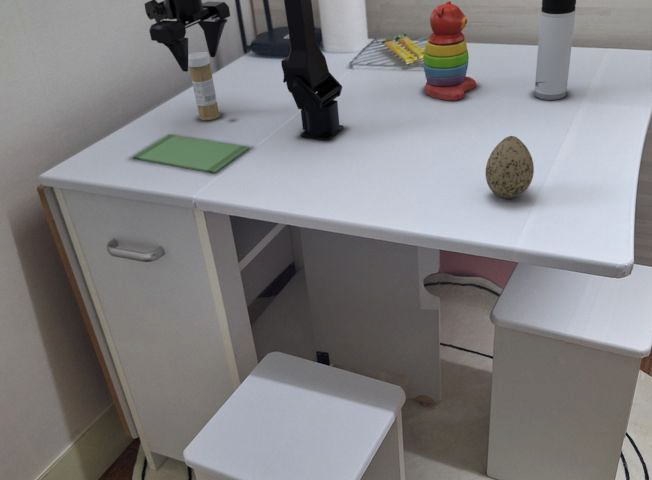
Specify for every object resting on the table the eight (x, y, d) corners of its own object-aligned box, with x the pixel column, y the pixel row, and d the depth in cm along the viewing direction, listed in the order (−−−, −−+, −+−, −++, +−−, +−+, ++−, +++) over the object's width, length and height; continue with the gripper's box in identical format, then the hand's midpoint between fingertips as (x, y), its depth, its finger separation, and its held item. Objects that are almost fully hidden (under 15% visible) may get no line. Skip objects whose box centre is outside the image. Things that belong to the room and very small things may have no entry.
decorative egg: (477, 190, 111) (479, 132, 105) (518, 182, 112) (522, 124, 106) (496, 210, 105) (499, 150, 100) (539, 202, 106) (545, 141, 100)
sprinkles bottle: (217, 111, 151) (205, 49, 143) (222, 118, 147) (210, 55, 140) (197, 116, 150) (184, 53, 142) (201, 123, 146) (188, 59, 138)
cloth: (249, 148, 133) (248, 146, 133) (214, 173, 125) (214, 171, 125) (169, 136, 142) (168, 134, 141) (132, 158, 134) (132, 156, 134)
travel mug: (531, 100, 140) (540, -4, 128) (536, 88, 145) (545, -13, 133) (564, 101, 138) (575, -4, 126) (567, 90, 143) (579, -13, 131)
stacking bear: (459, 102, 142) (460, 12, 132) (414, 96, 147) (413, 9, 137) (479, 84, 150) (482, -2, 140) (436, 80, 155) (435, -4, 144)
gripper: (181, -29, 143) (196, 47, 152) (118, -6, 130) (139, 76, 139) (224, -28, 138) (237, 51, 147) (164, -5, 125) (182, 80, 134)
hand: (199, 64), depth 142 cm, fingers open, 9 cm apart
